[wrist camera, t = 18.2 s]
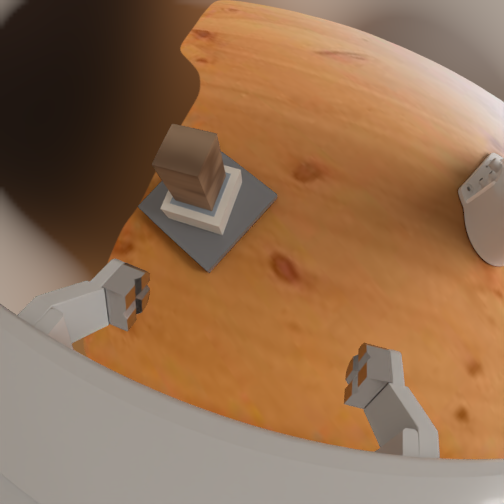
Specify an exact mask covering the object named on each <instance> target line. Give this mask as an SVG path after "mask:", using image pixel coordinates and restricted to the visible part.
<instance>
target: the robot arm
mask: <svg viewBox="0 0 504 504" xmlns="http://www.w3.org/2000/svg"><path fill="white" fill-rule="evenodd" d="M467 189H468V190H469V191H468V190H467ZM458 194H459V197H460V200H461V203H462V205H463V208H464V217H465V225H466V230H467V233H468V236H469V239H470V241H471V243H472V245H473V247H474V249H475V250H476V252H477V253H478V254H479V256H480V257H481V258H482V259H483V260H485V261H486V262H487V263H489V264H491V265H493V266H504V158H502V157H501V156H499V155H498V154H495V153H491V154H489V155H488V156H487V157H486V159H485V160H484V161H483V162H482V163H481V164H480V166H479V167H478V168H477V169H476V170H475V171H474V172H473V173H472V175H471V176H470V177H469V178H468V179H467V180H466V181H465V182H464V183H463V185H462V186H461V187H460V188H459V190H458ZM149 281H150V273H149V272H147V271H145V270H142V269H140V268H137V267H135V266H133V265H130V264H128V263H125V262H122V261H120V260H118V259H112V260H111V261H110V262H109V263H108V264H107V265H106V266H105V267H104V268H103V269H102V270H101V271H100V272H99V273H98V274H97V275H96V276H95V277H94V278H93V279H92V280H91V281H90V282H89V281H84V282H81V283H78V284H74V285H71V286H68V287H65V288H61V289H58V290H55V291H51V292H48V293H45V294H42V295H39V296H36V297H35V298H34V299H33V300H32V301H31V302H30V303H29V304H28V305H27V306H26V307H25V308H24V309H23V310H22V311H21V312H20V313H19V314H18V315H16V314H14V313H13V312H11V311H10V310H9V309H7V308H6V307H4V306H3V305H1V304H0V504H504V459H441V458H440V456H439V441H438V431H437V430H436V428H435V427H434V425H433V424H432V422H431V420H430V419H429V417H428V416H427V414H426V413H425V411H424V410H423V409H422V407H421V406H420V404H419V403H418V401H417V400H416V398H415V397H414V395H413V394H412V392H411V391H410V389H409V388H408V387H406V386H405V384H404V373H403V364H402V356H401V353H400V352H399V351H395V350H391V349H386V348H382V347H379V346H375V345H371V344H367V343H363V344H362V345H361V346H360V348H359V352H358V355H356V356H354V357H353V358H352V359H351V361H350V363H349V365H348V368H347V372H346V381H347V383H348V386H347V387H346V389H345V395H344V404H346V405H350V406H354V407H358V408H362V409H364V412H365V414H366V416H367V419H368V421H369V423H370V425H371V428H372V430H373V432H374V434H375V437H376V439H377V441H378V443H379V446H380V448H379V449H378V450H376V451H375V452H370V451H364V450H357V449H351V448H346V447H340V446H335V445H330V444H325V443H320V442H315V441H311V440H306V439H302V438H298V437H294V436H290V435H286V434H282V433H278V432H274V431H271V430H267V429H263V428H260V427H256V426H253V425H250V424H246V423H243V422H240V421H237V420H234V419H231V418H228V417H224V416H222V415H219V414H216V413H213V412H210V411H207V410H204V409H202V408H199V407H196V406H193V405H191V404H188V403H186V402H183V401H180V400H178V399H175V398H173V397H170V396H168V395H166V394H163V393H161V392H158V391H156V390H154V389H151V388H149V387H147V386H145V385H142V384H140V383H138V382H136V381H134V380H131V379H129V378H127V377H125V376H123V375H121V374H119V373H117V372H115V371H113V370H111V369H109V368H107V367H105V366H103V365H101V364H99V363H97V362H95V361H93V360H91V359H89V358H87V357H85V356H83V355H82V354H80V353H78V352H76V351H74V349H73V346H72V343H73V342H75V341H77V340H79V339H81V338H83V337H85V336H87V335H89V334H91V333H93V332H95V331H97V330H99V329H101V328H103V327H105V326H107V325H109V324H111V325H114V326H116V327H118V328H121V329H123V330H125V331H129V330H130V328H131V327H132V325H133V324H134V323H135V321H136V314H138V313H141V312H143V310H144V309H145V307H146V305H147V303H148V300H149V295H150V289H149V287H148V286H147V284H148V282H149Z"/></svg>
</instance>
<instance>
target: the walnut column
mask: <svg viewBox="0 0 504 504" xmlns="http://www.w3.org/2000/svg"><path fill="white" fill-rule="evenodd" d="M152 166H153V168H154V169H155V170H156V172H157V174H158V175H159V177H160V178H161V180H162V181H163V183H164V184H165V186H166V187H167V189H168V190H169V192H170V193H171V195H172V196H173V198H174V199H175V200H176V201H179V202H183V203H186V204H190V205H193V206H196V207H200V208H203V209H206V210H209V211H212V210H213V207H214V205H215V202H216V200H217V197H218V195H219V192H220V190H221V187H222V184H223V182H224V179H225V177H226V174H225V169H224V164H223V160H222V155H221V151H220V146H219V141H218V137H217V134H216V133H212V132H208V131H203V130H199V129H194V128H190V127H185V126H181V125H176V124H172V125H171V127H170V129H169V131H168V133H167V135H166V137H165V138H164V140H163V143H162V145H161V146H160V149H159V151H158V153H157V155H156V157H155V159H154V161H153V163H152Z"/></svg>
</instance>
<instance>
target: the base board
mask: <svg viewBox="0 0 504 504" xmlns="http://www.w3.org/2000/svg"><path fill="white" fill-rule="evenodd" d="M221 155H222V160H223V164H224V169H225V174H226V177H225V179H224V182H223V184H222V187H221V190H220V192H219V195H218V197H217V200H216V202H215V205H214V207H213V210H212V211H209V210H206V209H203V208H200V207H196V206H193V205H190V204H186V203H183V202H179V201H176V200H175V199H174V198H173V196H172V195H171V193H170V192H169V190H168V189H167V187H166V186H165V184H164V183H163V181H161V182H160V183H159V184H158V185H157V187H156V188H155V189H154V190H153V191H152V192H151V193H150V194H149V195H148V196H147V197H146V198H145V199H144V200H143V201H142V202H141V204H140V205H139V206H138V207H139V208H140V209H141V210H142V211H143V212H144V213H145V214H146V215H147V216H148V217H149V218H150V219H151V220H152V221H153V222H154V223H155V224H156V225H158V226H159V227H160V228H161V229H162V230H163V231H164V232H165V233H166V234H167V235H168V236H169V237H170V238H171V239H172V240H174V241H175V242H176V243H177V244H178V245H179V246H180V247H181V248H182V249H183V250H184V251H185V252H187V253H188V254H189V255H190V256H191V257H192V258H193V259H194V260H195V261H196V262H197V263H199V264H200V265H201V266H202V267H203V268H204V269H205V270H206V271H207V272H208V273H210V272H211V271H212V269H213V268H214V267H215V266H216V265H217V264H218V263H219V262H220V261H221V259H222V258H223V257H224V256H225V255H226V254H227V253H228V252H229V251H230V249H231V248H232V247H233V246H234V245H235V244H236V243H237V242H238V241H239V240H240V238H241V237H242V236H243V235H244V234H245V233H246V232H247V231H248V230H249V229H250V227H251V226H252V225H253V224H254V223H255V222H256V221H257V220H258V219H259V218H260V216H261V215H262V214H263V213H264V212H265V211H266V210H267V209H268V208H269V207H270V206H271V204H272V203H273V202H274V201H275V200H276V199H277V194H276V193H275V192H273V191H272V190H271V189H270V188H268V187H267V186H266V185H264V184H263V183H262V182H261V181H259V180H258V179H257V178H255V177H254V176H253V175H252V174H250V173H249V172H248V171H246V170H245V169H244V168H243V167H241V166H240V165H239V164H237V163H236V162H235V161H233V160H232V159H231V158H229V157H228V156H227V155H225V154H224V153H223V152H221Z"/></svg>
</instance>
